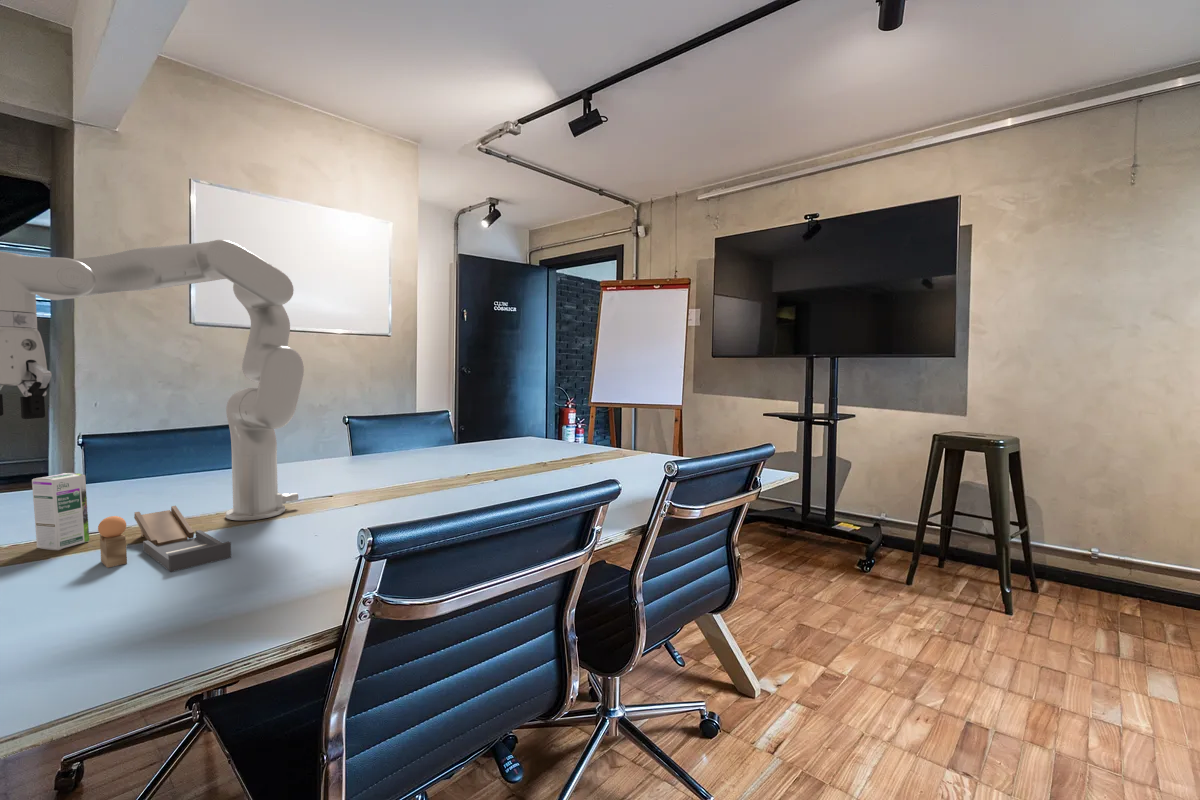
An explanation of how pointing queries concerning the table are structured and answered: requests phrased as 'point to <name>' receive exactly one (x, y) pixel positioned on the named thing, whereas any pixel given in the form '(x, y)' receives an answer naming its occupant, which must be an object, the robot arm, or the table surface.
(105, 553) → the wooden upright block
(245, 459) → the robot arm
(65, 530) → the syrup box
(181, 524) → the ramp
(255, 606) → the table surface
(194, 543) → the lane
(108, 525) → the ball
